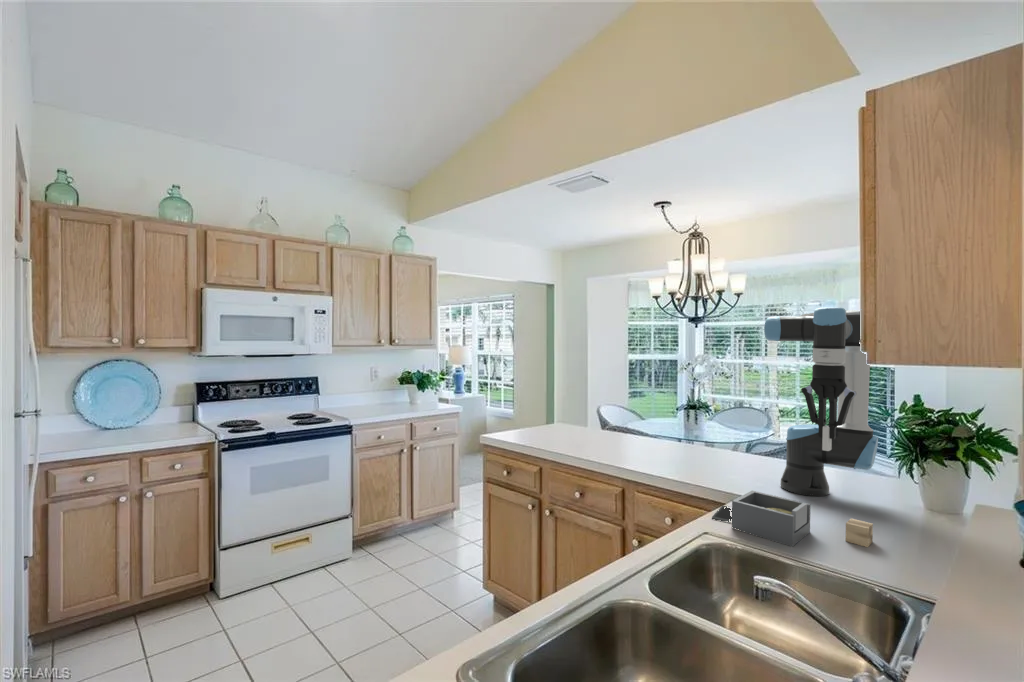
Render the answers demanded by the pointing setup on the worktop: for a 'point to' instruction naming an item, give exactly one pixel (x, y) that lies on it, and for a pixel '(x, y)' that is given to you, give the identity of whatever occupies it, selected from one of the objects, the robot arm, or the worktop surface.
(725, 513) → the cell phone
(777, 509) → the disc
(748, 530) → the box
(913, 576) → the worktop surface
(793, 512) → the grey i-beam
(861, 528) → the pedestal
